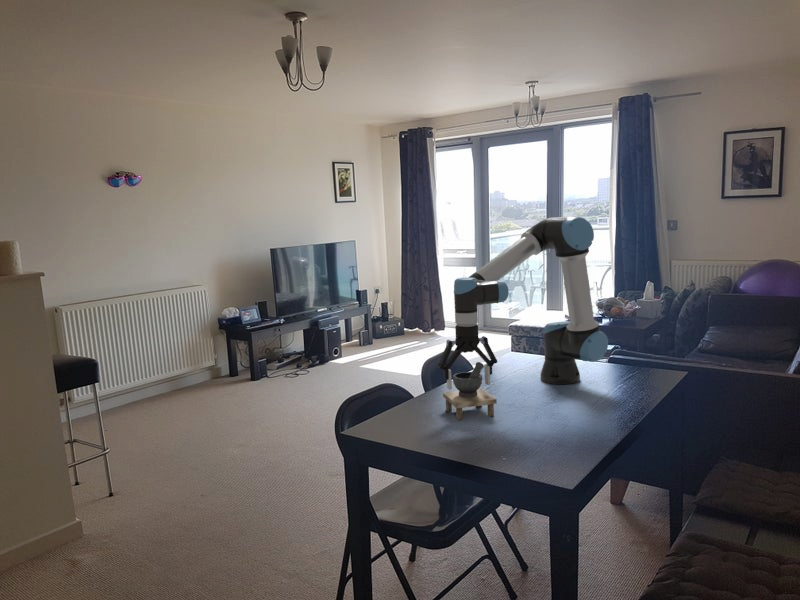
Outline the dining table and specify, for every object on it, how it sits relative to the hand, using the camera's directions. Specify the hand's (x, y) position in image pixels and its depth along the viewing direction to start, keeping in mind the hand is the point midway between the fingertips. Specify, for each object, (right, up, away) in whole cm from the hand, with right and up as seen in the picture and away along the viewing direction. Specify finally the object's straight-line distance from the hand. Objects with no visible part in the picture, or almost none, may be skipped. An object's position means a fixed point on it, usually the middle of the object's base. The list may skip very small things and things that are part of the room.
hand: (468, 386), depth 201 cm
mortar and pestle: (0, -3, +1) cm, 3 cm away
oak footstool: (0, -9, +1) cm, 9 cm away
